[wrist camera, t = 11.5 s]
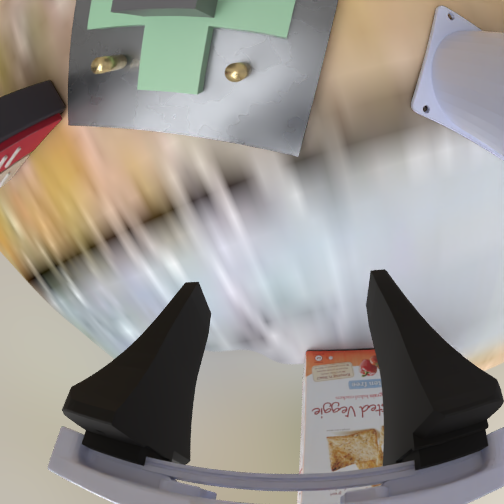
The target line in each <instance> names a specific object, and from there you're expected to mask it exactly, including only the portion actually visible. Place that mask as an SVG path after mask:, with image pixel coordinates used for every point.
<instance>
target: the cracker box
mask: <svg viewBox="0 0 504 504" xmlns="http://www.w3.org/2000/svg"><path fill="white" fill-rule="evenodd" d="M383 448H384V414H383V396H382V385H381V377H380V371H379V366H378V361H377V357H376V353H375V349H372V350H347V351H307V352H306V358H305V365H304V372H303V389H302V423H301V447H300V467H299V474H312V473H330V472H342V471H352V470H361V469H368V468H375V467H381V466H383ZM382 484H383V483H382ZM380 485H381V484H376V485H370V486H363V487H355V488H345V489H334V490H319V491H298V498H297V504H340V497H341V496H342V495H344V493H346V492H347V491H353V490H359V489H365V488H370V487H375V486H380Z"/></svg>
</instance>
